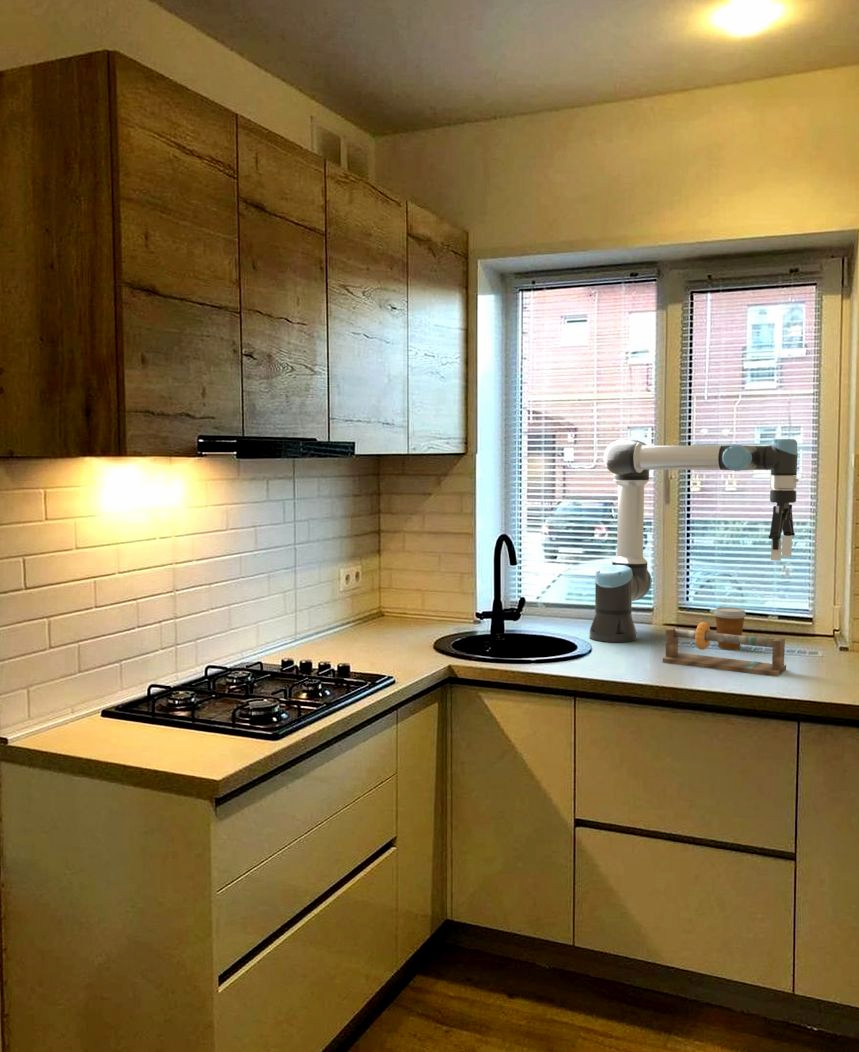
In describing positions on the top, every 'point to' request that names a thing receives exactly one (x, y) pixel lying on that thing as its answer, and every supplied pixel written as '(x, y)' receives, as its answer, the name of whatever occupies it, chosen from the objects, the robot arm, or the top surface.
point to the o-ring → (702, 635)
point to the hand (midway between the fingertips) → (781, 558)
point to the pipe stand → (726, 663)
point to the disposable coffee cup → (729, 624)
